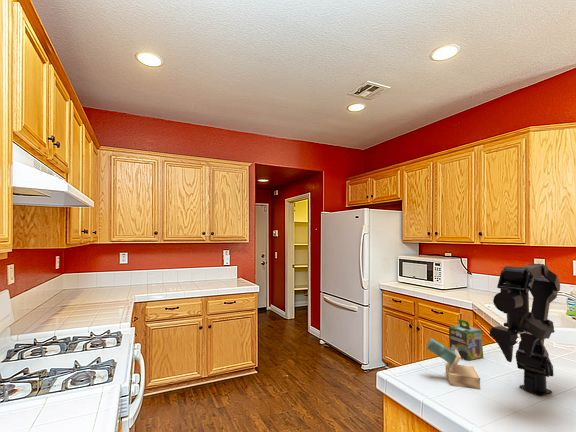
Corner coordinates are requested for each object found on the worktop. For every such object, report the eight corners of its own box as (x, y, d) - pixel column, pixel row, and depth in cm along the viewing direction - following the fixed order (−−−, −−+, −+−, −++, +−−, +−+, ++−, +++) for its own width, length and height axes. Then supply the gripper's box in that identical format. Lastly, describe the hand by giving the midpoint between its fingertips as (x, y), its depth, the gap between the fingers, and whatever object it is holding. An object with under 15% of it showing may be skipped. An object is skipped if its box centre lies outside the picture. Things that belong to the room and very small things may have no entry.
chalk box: (483, 358, 134) (483, 321, 135) (467, 361, 131) (466, 323, 132) (464, 350, 143) (463, 316, 144) (448, 353, 140) (448, 318, 140)
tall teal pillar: (457, 350, 118) (431, 334, 121) (461, 357, 111) (433, 340, 114) (448, 363, 119) (423, 347, 122) (451, 372, 112) (424, 354, 115)
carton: (473, 376, 117) (473, 366, 118) (480, 389, 108) (479, 378, 108) (445, 372, 120) (445, 363, 120) (450, 384, 111) (449, 374, 111)
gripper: (526, 317, 89) (528, 375, 89) (565, 310, 97) (567, 364, 96) (487, 308, 100) (488, 360, 99) (525, 303, 107) (527, 351, 106)
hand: (519, 359), depth 100 cm, fingers open, 9 cm apart
